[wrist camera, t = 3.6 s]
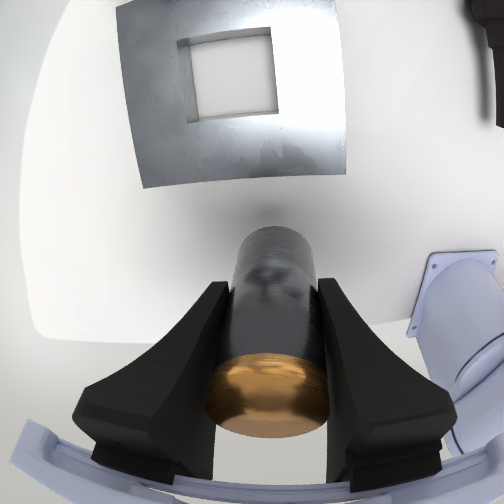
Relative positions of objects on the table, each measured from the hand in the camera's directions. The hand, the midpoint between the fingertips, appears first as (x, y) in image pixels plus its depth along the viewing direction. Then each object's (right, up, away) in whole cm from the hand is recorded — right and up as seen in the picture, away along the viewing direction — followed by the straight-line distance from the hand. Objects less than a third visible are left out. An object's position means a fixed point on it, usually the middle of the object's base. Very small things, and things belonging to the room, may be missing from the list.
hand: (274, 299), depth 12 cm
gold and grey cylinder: (0, +2, +2) cm, 3 cm away
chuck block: (-2, +12, +4) cm, 13 cm away
